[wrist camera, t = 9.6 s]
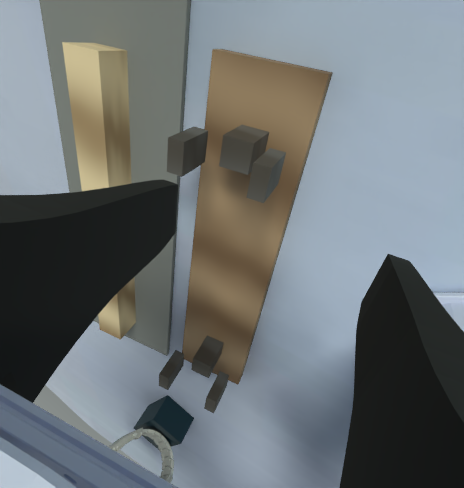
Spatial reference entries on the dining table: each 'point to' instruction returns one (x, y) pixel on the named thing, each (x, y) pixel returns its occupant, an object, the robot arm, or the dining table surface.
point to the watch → (160, 431)
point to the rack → (240, 203)
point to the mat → (132, 114)
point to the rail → (102, 142)
